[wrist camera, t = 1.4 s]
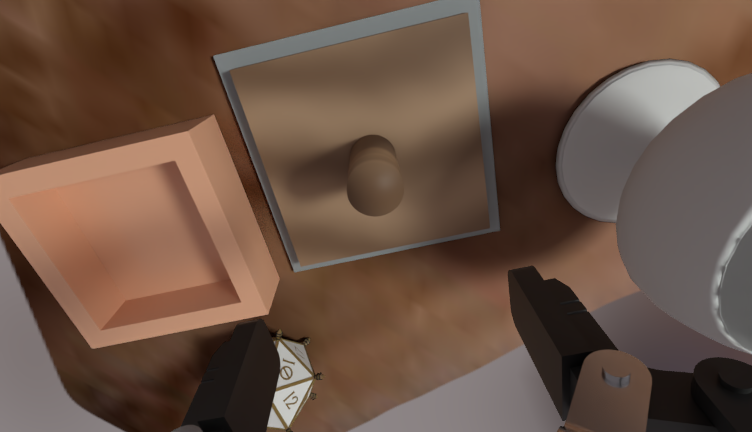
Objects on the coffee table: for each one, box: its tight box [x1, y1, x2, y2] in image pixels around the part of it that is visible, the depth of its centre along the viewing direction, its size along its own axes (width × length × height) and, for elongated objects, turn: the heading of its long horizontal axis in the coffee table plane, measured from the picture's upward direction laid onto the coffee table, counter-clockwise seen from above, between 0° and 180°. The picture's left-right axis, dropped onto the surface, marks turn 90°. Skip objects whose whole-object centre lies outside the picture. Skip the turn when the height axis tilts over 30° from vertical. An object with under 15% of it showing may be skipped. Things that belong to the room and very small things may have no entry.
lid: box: [229, 13, 490, 267], centre depth 25 cm, size 15×15×7 cm
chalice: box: [556, 59, 752, 354], centre depth 22 cm, size 14×14×15 cm
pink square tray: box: [0, 114, 280, 349], centre depth 29 cm, size 14×14×4 cm
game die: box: [267, 329, 325, 432], centre depth 33 cm, size 9×8×10 cm
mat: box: [213, 0, 500, 272], centre depth 29 cm, size 17×17×1 cm
